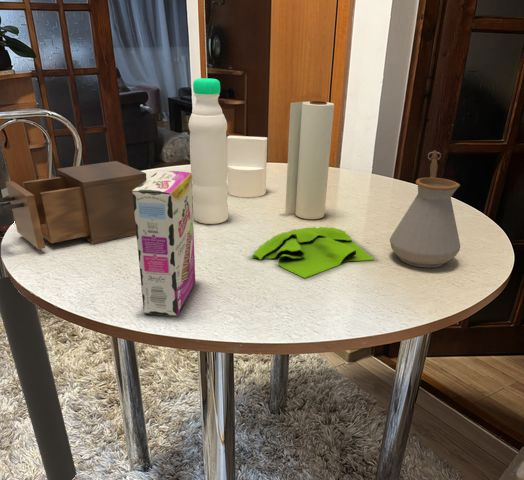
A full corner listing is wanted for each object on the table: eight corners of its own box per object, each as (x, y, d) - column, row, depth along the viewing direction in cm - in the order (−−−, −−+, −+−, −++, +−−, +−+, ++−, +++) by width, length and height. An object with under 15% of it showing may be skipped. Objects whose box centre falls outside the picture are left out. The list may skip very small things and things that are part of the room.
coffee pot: (459, 276, 81) (483, 180, 73) (385, 267, 84) (401, 173, 76) (450, 233, 99) (468, 151, 91) (390, 227, 101) (402, 147, 93)
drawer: (9, 255, 82) (-5, 200, 77) (-10, 237, 88) (-24, 185, 84) (98, 236, 90) (90, 186, 85) (74, 221, 97) (66, 173, 92)
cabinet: (92, 244, 89) (82, 182, 84) (66, 226, 97) (56, 168, 91) (151, 231, 96) (146, 173, 90) (123, 215, 103) (116, 160, 98)
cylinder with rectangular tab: (268, 188, 124) (269, 135, 117) (263, 198, 116) (264, 142, 110) (231, 185, 124) (231, 133, 118) (224, 195, 117) (223, 140, 110)
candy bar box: (179, 317, 68) (171, 192, 59) (143, 315, 68) (129, 190, 59) (198, 282, 77) (193, 170, 68) (165, 280, 77) (156, 168, 69)
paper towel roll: (329, 215, 107) (340, 102, 95) (314, 222, 103) (323, 105, 91) (300, 208, 110) (308, 98, 99) (284, 214, 106) (290, 101, 95)
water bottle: (235, 220, 102) (235, 79, 89) (207, 227, 98) (202, 81, 85) (213, 211, 107) (209, 76, 93) (186, 218, 102) (178, 78, 89)
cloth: (347, 229, 99) (349, 217, 98) (386, 275, 81) (389, 261, 80) (243, 232, 97) (243, 219, 95) (259, 280, 78) (259, 265, 77)
